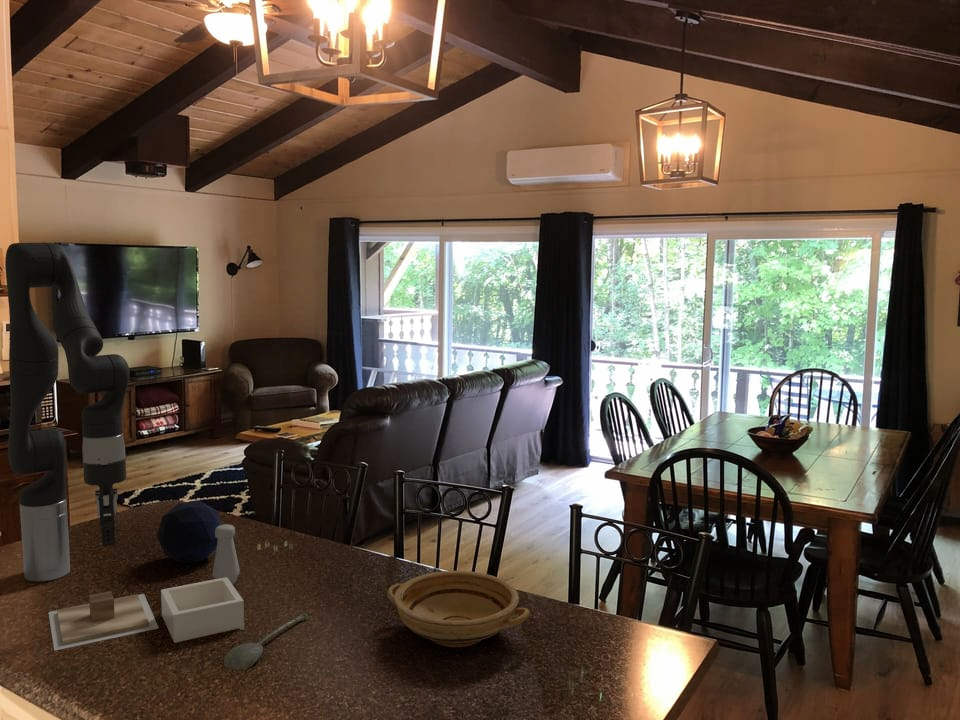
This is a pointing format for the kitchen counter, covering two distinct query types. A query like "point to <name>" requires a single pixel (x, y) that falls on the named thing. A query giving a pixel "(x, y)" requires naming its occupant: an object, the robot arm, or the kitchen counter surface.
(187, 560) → the decorative orb
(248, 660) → the soupspoon
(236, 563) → the salt shaker
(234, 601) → the white open box
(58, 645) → the tray
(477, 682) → the kitchen counter surface
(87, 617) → the lid
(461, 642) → the ceramic bowl
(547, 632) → the kitchen counter surface
